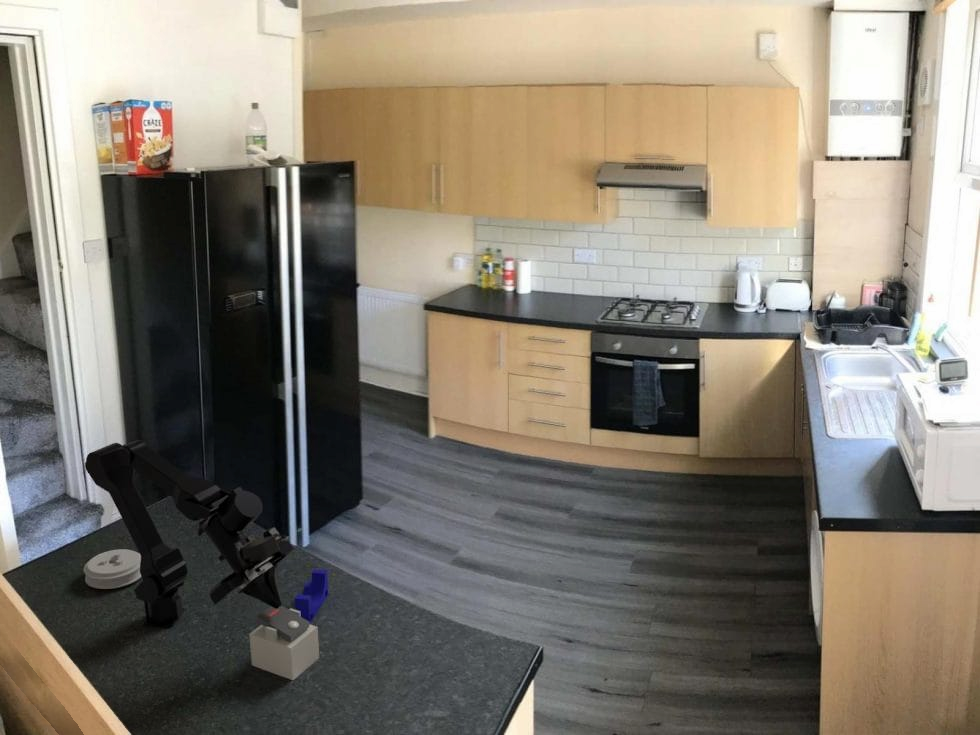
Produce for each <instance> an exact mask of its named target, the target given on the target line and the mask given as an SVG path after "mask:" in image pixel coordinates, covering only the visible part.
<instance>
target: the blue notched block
mask: <svg viewBox="0 0 980 735" xmlns="http://www.w3.org/2000/svg"><path fill="white" fill-rule="evenodd" d="M328 576H329V574H328V570H327V569H316V568H315V569H313V570H312V572H311V580H308V581H307V582H306V583H305V585H304V586H303V591H302V594H296V595H295V597H294V598H293V599H294V609H295V610H298V611H301V617H302V618H304V619H305V620H307V621H309V622H310V624H312V621H313V620H314V619H313V618H315V617H316V615H317V614H316V613H318V612H319V611H320V608H322V605H323V603H324V602H325V601H326V600H327V598H328V596H329V578H328Z"/></svg>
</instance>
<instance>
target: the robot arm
mask: <svg viewBox="0 0 980 735" xmlns="http://www.w3.org/2000/svg"><path fill="white" fill-rule="evenodd" d="M84 468H85V470H86V473H87V474H88V475H89V476H90V478H91V480H92V481H93V482H94V484H95V485H96V486H98V487H99V488H100V489H102V490H104V491H106V492H107V493H109V495H110V497H111V499H112V501H113V503H114V505H115V507H116V509H117V511H118V513H119V515H120V517H121V518H122V520H123V523H124V525H125V527H126V529H127V530H128V533H129V535H130V537H131V539H132V541H133V543H134V545H135V547H136V548H137V551H138V553H139V554H140V555H141V561H140V574H141V576H142V577H141V579H142V581H141V582H140V583H139V584H138V585H137V586H136V587H135V588H134V589H133V591H134V593H135V596H136V599H137V600H139V601H142V602H143V604H144V605H143V606H144V614H145V619H144V620H143V621H142V626H148V627H160V628H161V627H162V628H163V627H164V628H172V627H174V625H175V624H176V623H177V622H178V620H179V619H180V617H182V615H183V613H184V612H185V609H184V608H183V602H182V600H183V599H182V596H181V595H180V594H179V588H181V587H183V586H184V585H185V581H186V579H187V576H188V575H187V574H188V573H189V571H188V567H187V564H188V563H187V562H186V560H185V559H184V557H183V555H182V552H181V551H180V549H179V548H178V547H174V548H172V547H170V546H168V545H167V544H165V542H164V541H163V539H162V536H161V534H160V533H159V531H158V529H157V526H156V525H155V523H154V521H153V519H152V517H151V515H150V513H149V510H148V509H147V506H146V505H145V503H144V501H143V499H142V497H141V495H140V493H139V491H138V489H137V487H136V485H135V483H134V472H135V470H136V472H138V473H140V474H141V476H143V477H144V478H146V479H148V480H149V481H151V483H153V484H155V485H156V486H157V487H159V488H160V489H161V490H163V491H164V492H165V493H167V494H168V495H169V496H170V497H171V498H172V500H173V503H174V506H175V508H176V509H177V510H178V511H179V512H180V513H181V514H182V515H183V516H184V517H185V518H186V519H188V520H190V521H193V522H195V521H199V522H198V529H197V536H198V537H202V536H203V535H207V537H208V538H209V539H210V541H211V543H213V545H214V546H215V548H216V549H217V551H218V552H219V553H220V556H218V559H219V561H220V562H221V563H222V562H224V561H226V563H227V564H228V566H229V567H230V568H231V569H232V571H233V572H232V573H231V574H229V575H228V576H226V577H225V578H223V579H221V580H220V581H219V582H218V583H217V584H216V585H215V586H213V587H212V588H211V589H210V591H209V594H210V595H209V598H210V600H211V601H212V603H213V604H214V605H215V606H217V605H219V604H220V603H221V602H223V601H224V600H225V599H227V598H228V596H229V594H230V593H231V592H234V591H235V590H236V589H238V588H239V589H240V590H239V591H238V594H239V595H241V594H244V595H247V596H249V597H252V598H254V599H257V600H258V601H260V602H262V603H264V604H266V605H268V606H269V607H270V606H272V607H274V608H275V609H278V608H279V607H280V606H281V605H282V602H281V598H280V594H279V591H278V588H277V583H276V578H275V573H276V569H277V568H278V567H279V566H278V564H279V563H280V562H282V561H283V560H284V559H286V557H287V556H289V555H290V554H291V553H292V552H293V551H295V547H294V546H293V545H292V544H291V542H290V541H288V540H284V539H283V538H282V536H281V533H280V532H279V531H278V530H277V529H276V527H275V526H274V527H270V528H267V529H266V530H265V531H263V535H262V536H261V537H260V538H257V539H256V538H255V536H254V535H253V534H251V533H249V534H246V533H245V532H244V530H245V529H247V528H248V527H249V526H250V525H251V524H252V523H253V522H255V520H256V519H257V518H259V516H260V515H261V514H262V513H263V510H264V509H263V508H264V507H263V506H264V505H263V503H262V500H261V498H260V497H259V495H256V494H255V493H254V492H251V491H247V490H243V489H242V487H241V486H238V487H236V488H234V489H232V490H231V491H228V490H226V489H223V488H221V487H219V486H218V485H217V484H215V483H214V482H211V481H209V480H208V479H205V478H203V477H201V476H193V475H192V476H191V475H189V474H188V473H185V472H184V471H183V470H181V469H180V468H178V467H177V466H176V465H174V464H172V462H170V461H169V460H167V459H166V458H165V457H163V456H162V455H160V454H159V453H157V452H156V451H155V450H153V449H152V448H150V447H149V445H148V443H147V442H146V441H145V440H142V439H137V440H135V441H131V442H127V443H125V444H120V443H119V442H114V443H111V444H108V445H106V446H103V447H101V448H99V449H96V450H94V451H91V452H89V453H88V454H87V455H86V459H85V462H84ZM201 519H202V520H201ZM282 606H283V605H282Z"/></svg>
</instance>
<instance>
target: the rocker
mask: <svg viewBox="0 0 980 735" xmlns="http://www.w3.org/2000/svg"><path fill="white" fill-rule="evenodd" d="M255 622H256V623H258V624H260V626H261V625H263V626H265V627H266V626H268V627H271V628H274V629H277V634H278V635H280V636H281V637H283V638H285V639H286V640H288V641H289V642H291V641H292V640H294V639H295V638H296V637H297V636H299V635H300V634H301V633H302V632H304V631H305V630H306V629H307V628H309V625H311V623H310V622H309V621H307V620H305V619H304V618H302V617H300V616H299V615H297V614H295V613H294V612H292V611H290V610H289V609H288V608H287V607H285V606H284V605H281V606H280V607H279V608H278V609H275V608H274V607H272V606H270V605H269V607H267V608H266V609H264V610H263V611H262V612H260V613H259V614H258V615H257V616H256V618H255Z"/></svg>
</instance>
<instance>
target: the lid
mask: <svg viewBox="0 0 980 735" xmlns="http://www.w3.org/2000/svg"><path fill="white" fill-rule="evenodd" d="M140 561H141V555H140V553H139V552H137V551H135V550H131V549H123V548H122V549H121V548H119V549H112V550H111V549H110V550H108V551H105V552H101V553H99V554H97V555H95V556H93V557H92V558H91V559H90V560H89V561H88V562H86V563H85V565H84V566H83V567H84V568H83V572H84V574H85V576H84V577H85V578H84V581H85V583H86V585H88V586H89V587H92V588H94V589H99V590H100V589H101V590H102V589H103V590H109V589H110V590H111V589H117V588H122V587H126V586H128V585H130V584H133V583H135V582H137V581H138V580H140V579H142V576H141V574H140Z"/></svg>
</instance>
